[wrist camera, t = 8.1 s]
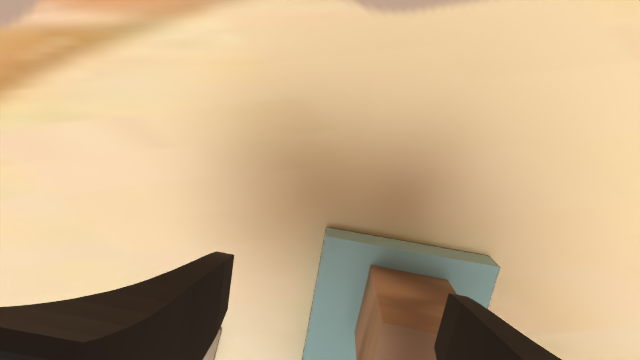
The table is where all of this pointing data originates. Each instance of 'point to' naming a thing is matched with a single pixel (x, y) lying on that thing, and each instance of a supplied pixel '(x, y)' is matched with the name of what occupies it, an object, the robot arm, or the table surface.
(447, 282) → the walnut block
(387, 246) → the base board
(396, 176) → the table surface
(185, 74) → the table surface
